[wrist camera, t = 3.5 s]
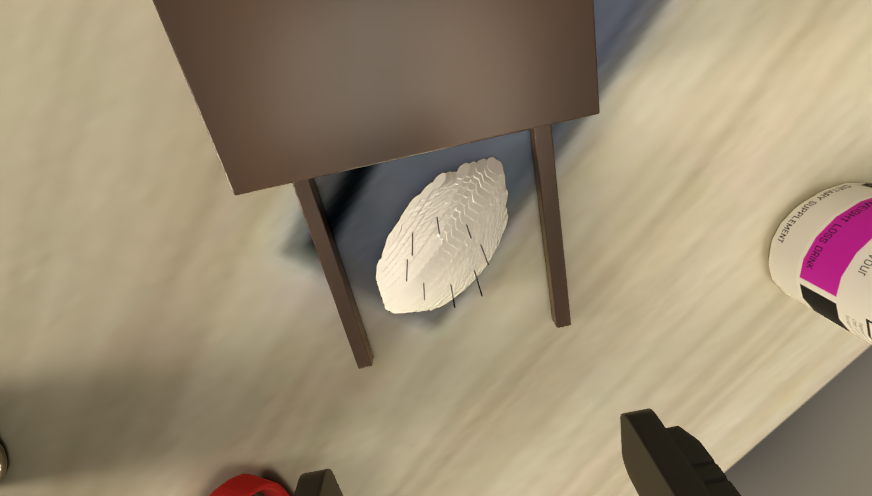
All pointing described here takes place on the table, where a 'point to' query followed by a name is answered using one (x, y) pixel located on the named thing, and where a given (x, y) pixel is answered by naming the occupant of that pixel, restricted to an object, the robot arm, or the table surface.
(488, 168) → the pincushion
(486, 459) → the table surface
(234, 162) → the box with long handles
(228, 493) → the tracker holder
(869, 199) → the supplement can
